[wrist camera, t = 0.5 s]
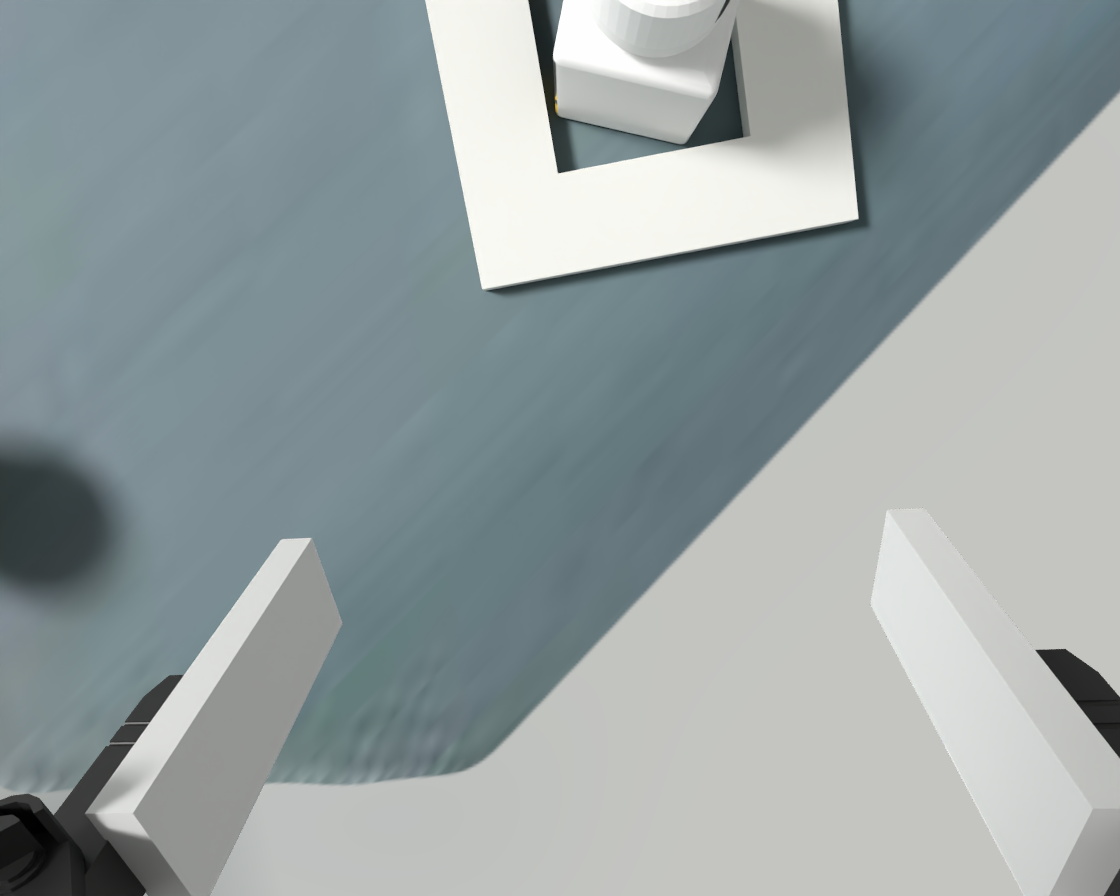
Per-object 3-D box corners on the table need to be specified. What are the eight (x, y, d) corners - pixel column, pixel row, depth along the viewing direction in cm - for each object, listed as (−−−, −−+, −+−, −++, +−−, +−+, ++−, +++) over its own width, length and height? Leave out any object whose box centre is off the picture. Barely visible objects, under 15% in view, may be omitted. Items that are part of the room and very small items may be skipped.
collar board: (405, -116, 32) (399, -133, 30) (806, -202, 31) (816, -223, 30) (485, 290, 35) (482, 289, 34) (848, 222, 34) (858, 218, 33)
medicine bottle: (583, -31, 32) (593, -242, 20) (719, 2, 32) (808, -189, 21) (554, 117, 33) (547, -2, 22) (685, 147, 34) (750, 46, 22)
